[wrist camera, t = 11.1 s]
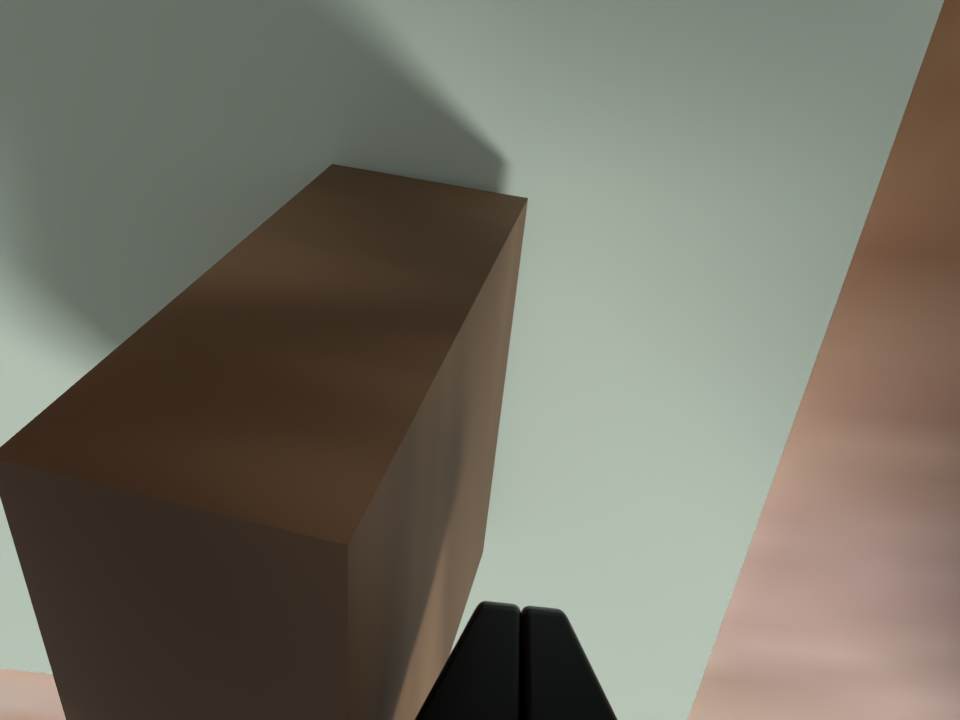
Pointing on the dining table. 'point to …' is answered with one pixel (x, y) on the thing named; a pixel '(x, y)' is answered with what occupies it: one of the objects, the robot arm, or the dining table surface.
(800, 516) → the dining table surface
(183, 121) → the mat
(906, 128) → the dining table surface
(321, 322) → the walnut slab
